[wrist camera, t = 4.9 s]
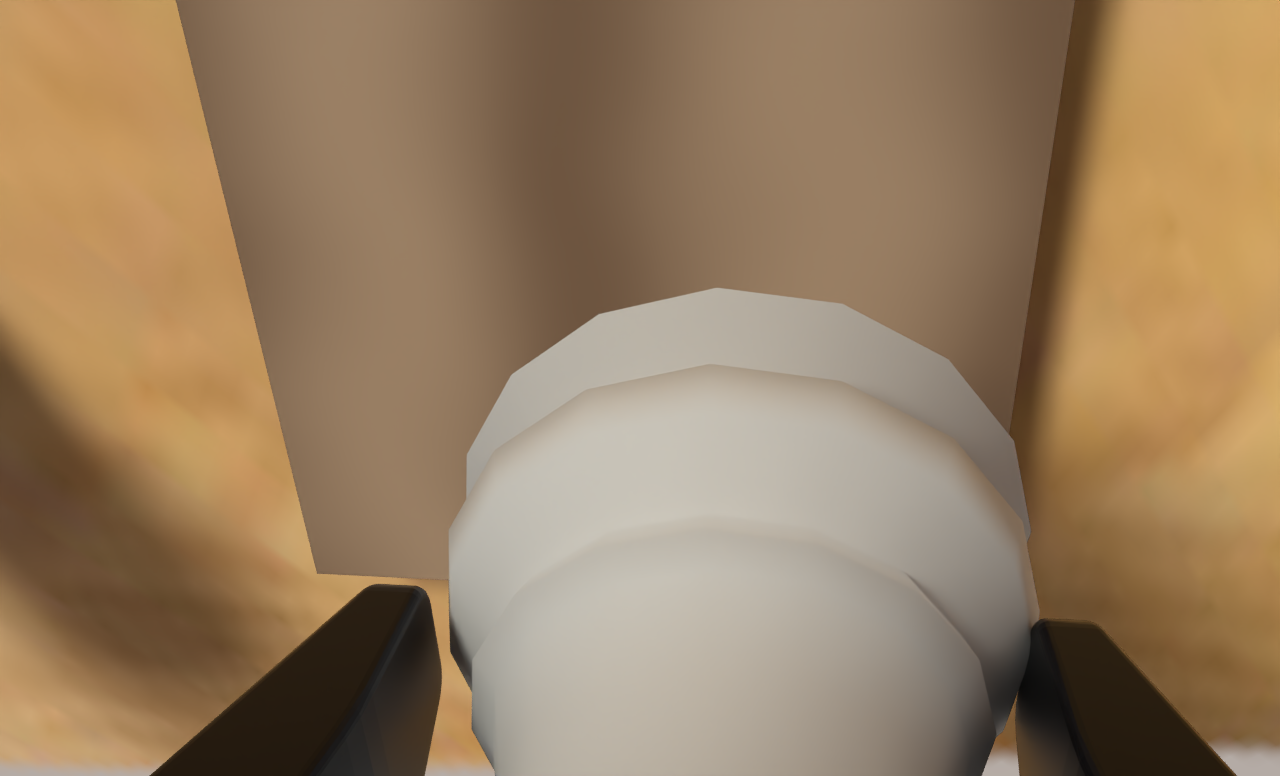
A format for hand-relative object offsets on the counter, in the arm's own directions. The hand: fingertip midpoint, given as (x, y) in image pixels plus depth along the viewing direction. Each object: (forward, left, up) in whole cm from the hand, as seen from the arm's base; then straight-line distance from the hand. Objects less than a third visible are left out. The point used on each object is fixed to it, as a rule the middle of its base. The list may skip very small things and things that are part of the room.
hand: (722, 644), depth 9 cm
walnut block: (+2, +3, -12) cm, 13 cm away
